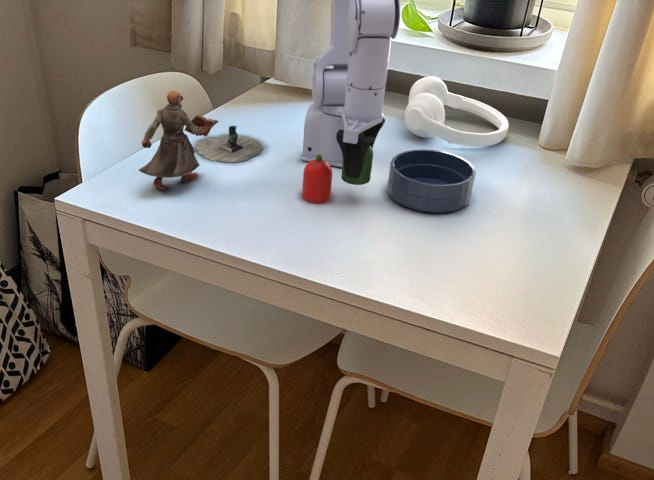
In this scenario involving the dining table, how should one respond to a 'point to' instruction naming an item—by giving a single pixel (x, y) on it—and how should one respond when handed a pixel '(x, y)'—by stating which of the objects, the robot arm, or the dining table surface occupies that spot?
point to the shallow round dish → (430, 180)
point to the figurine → (174, 142)
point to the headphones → (430, 115)
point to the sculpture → (229, 147)
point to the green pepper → (364, 174)
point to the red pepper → (317, 181)
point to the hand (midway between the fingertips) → (356, 170)
